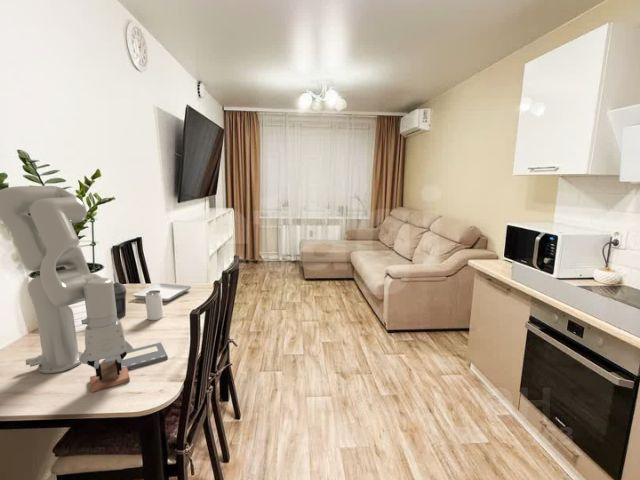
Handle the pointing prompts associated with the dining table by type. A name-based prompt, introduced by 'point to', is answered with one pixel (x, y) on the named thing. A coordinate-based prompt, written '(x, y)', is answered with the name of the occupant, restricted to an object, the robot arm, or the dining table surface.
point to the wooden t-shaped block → (109, 376)
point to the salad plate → (164, 291)
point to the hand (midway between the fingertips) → (109, 375)
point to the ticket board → (142, 356)
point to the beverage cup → (120, 298)
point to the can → (154, 305)
